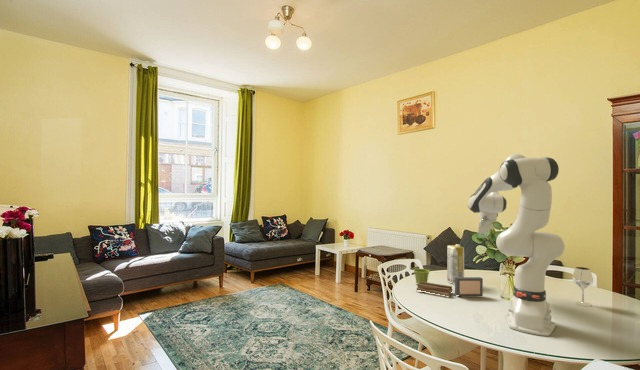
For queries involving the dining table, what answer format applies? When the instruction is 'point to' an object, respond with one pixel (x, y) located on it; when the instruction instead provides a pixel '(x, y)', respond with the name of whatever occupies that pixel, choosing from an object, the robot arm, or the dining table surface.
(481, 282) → the picture frame
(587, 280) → the wineglass
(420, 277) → the plant pot
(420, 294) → the dining table surface
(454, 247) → the juice carton
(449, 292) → the picture ledge
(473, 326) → the dining table surface
